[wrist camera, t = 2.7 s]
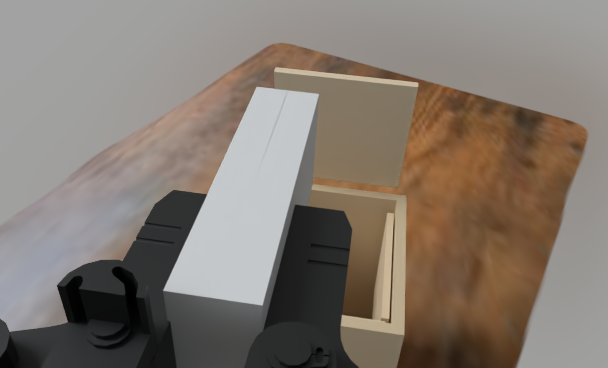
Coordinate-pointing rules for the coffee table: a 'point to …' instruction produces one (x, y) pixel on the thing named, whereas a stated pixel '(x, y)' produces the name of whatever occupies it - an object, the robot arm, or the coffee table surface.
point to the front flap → (356, 124)
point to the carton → (371, 273)
